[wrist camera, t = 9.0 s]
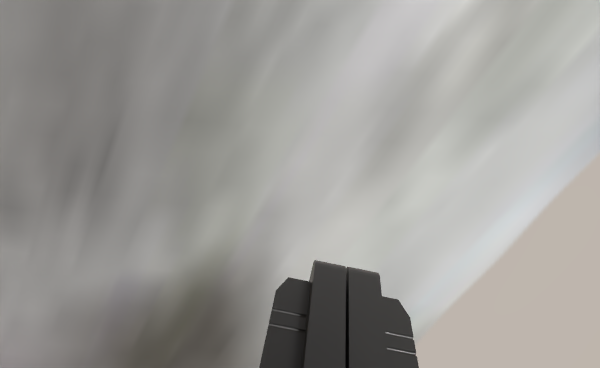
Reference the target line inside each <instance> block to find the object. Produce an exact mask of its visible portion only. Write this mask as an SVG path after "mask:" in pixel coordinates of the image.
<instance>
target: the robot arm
mask: <svg viewBox="0 0 600 368" xmlns="http://www.w3.org/2000/svg"><path fill="white" fill-rule="evenodd" d="M260 368H419V367H418V361H417V357H416V349H415V344H414V340H413V332H412V327H411V321H410V317H409V315H408V314H407V312H406V311H405V309H404V308H403V306H402V305H401V303H400V302H399V300H397V299H392V298H387V297H382V294H381V284H380V276H379V273H376V272H371V271H366V270H361V269H356V268H351V267H347V268H346V267H345V266H341V265H336V264H331V263H326V262H321V261H316V260H315V261H314V263H313V267H312V271H311V276H310V280H309V282H308V281H303V280H298V279H293V278H289V277H288V278H287V279H286V281H285V282H284V283H283V284H282V285H281V286H280V287H279V288H278V289H277V290H276V293H275V298H274V303H273V307H272V312H271V317H270V321H269V326H268V331H267V335H266V340H265V344H264V349H263V354H262V358H261V363H260Z"/></svg>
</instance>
